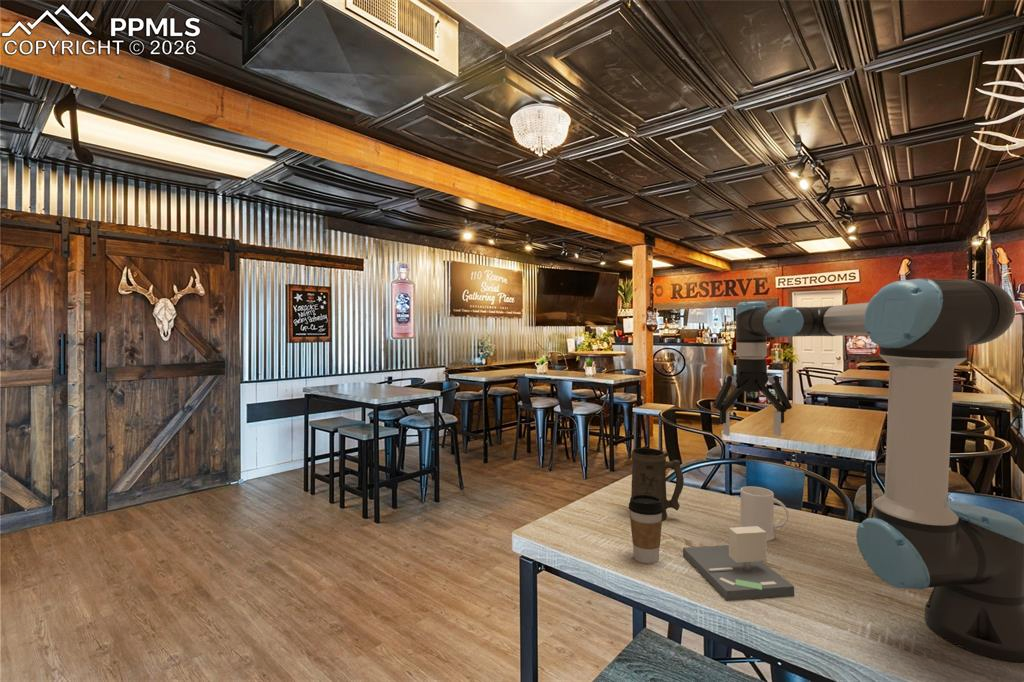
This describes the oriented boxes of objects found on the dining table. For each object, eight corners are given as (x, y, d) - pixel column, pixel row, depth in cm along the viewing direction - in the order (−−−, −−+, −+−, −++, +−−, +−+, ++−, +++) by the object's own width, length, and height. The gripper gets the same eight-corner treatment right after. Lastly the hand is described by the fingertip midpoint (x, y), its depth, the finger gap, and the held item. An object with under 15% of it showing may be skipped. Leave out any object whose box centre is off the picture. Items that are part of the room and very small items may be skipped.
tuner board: (795, 596, 102) (795, 587, 101) (727, 601, 100) (727, 591, 100) (740, 552, 122) (740, 544, 122) (683, 555, 120) (683, 547, 120)
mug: (791, 537, 130) (791, 492, 130) (783, 548, 124) (783, 501, 123) (744, 525, 138) (744, 483, 138) (735, 535, 132) (735, 491, 131)
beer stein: (626, 520, 143) (630, 453, 142) (628, 506, 153) (632, 444, 152) (681, 529, 138) (686, 460, 137) (679, 515, 149) (684, 451, 148)
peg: (766, 571, 108) (766, 531, 108) (713, 575, 107) (713, 535, 107) (757, 564, 111) (757, 526, 111) (705, 568, 110) (705, 529, 110)
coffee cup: (639, 568, 114) (639, 505, 114) (622, 552, 122) (622, 494, 122) (671, 563, 116) (670, 501, 116) (651, 548, 125) (651, 490, 124)
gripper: (791, 356, 136) (791, 431, 136) (700, 357, 137) (701, 431, 138) (805, 358, 128) (805, 437, 129) (709, 359, 130) (710, 437, 130)
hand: (751, 434), depth 133 cm, fingers open, 13 cm apart
